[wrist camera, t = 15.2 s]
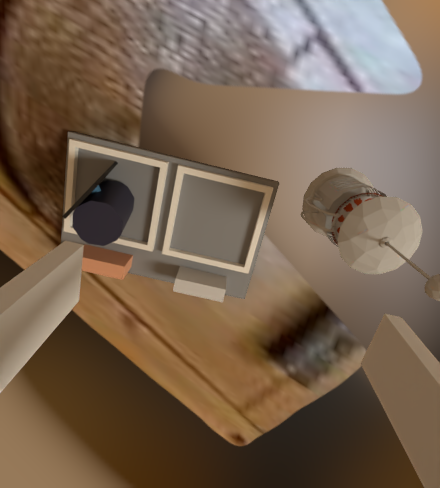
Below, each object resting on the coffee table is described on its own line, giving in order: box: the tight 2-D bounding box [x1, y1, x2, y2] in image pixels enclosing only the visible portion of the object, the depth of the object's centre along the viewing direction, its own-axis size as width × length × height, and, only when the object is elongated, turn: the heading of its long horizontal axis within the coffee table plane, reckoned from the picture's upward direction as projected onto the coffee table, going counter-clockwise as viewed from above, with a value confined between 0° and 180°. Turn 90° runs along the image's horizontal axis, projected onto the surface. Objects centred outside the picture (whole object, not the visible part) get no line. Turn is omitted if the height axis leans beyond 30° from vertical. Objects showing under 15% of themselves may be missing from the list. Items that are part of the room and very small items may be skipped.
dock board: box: [61, 132, 279, 302], centre depth 45 cm, size 18×28×5 cm, turn 77°
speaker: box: [62, 161, 134, 246], centre depth 41 cm, size 8×6×10 cm
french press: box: [301, 168, 440, 301], centre depth 34 cm, size 10×12×25 cm
